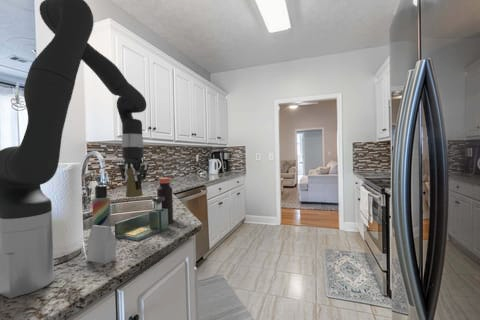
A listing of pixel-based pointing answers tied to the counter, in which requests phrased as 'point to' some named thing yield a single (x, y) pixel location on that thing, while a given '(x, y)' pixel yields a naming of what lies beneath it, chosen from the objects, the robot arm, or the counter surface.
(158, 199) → the ram
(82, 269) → the counter surface
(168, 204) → the vinegar
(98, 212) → the lotion bottle
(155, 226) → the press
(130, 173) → the cork
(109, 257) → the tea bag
